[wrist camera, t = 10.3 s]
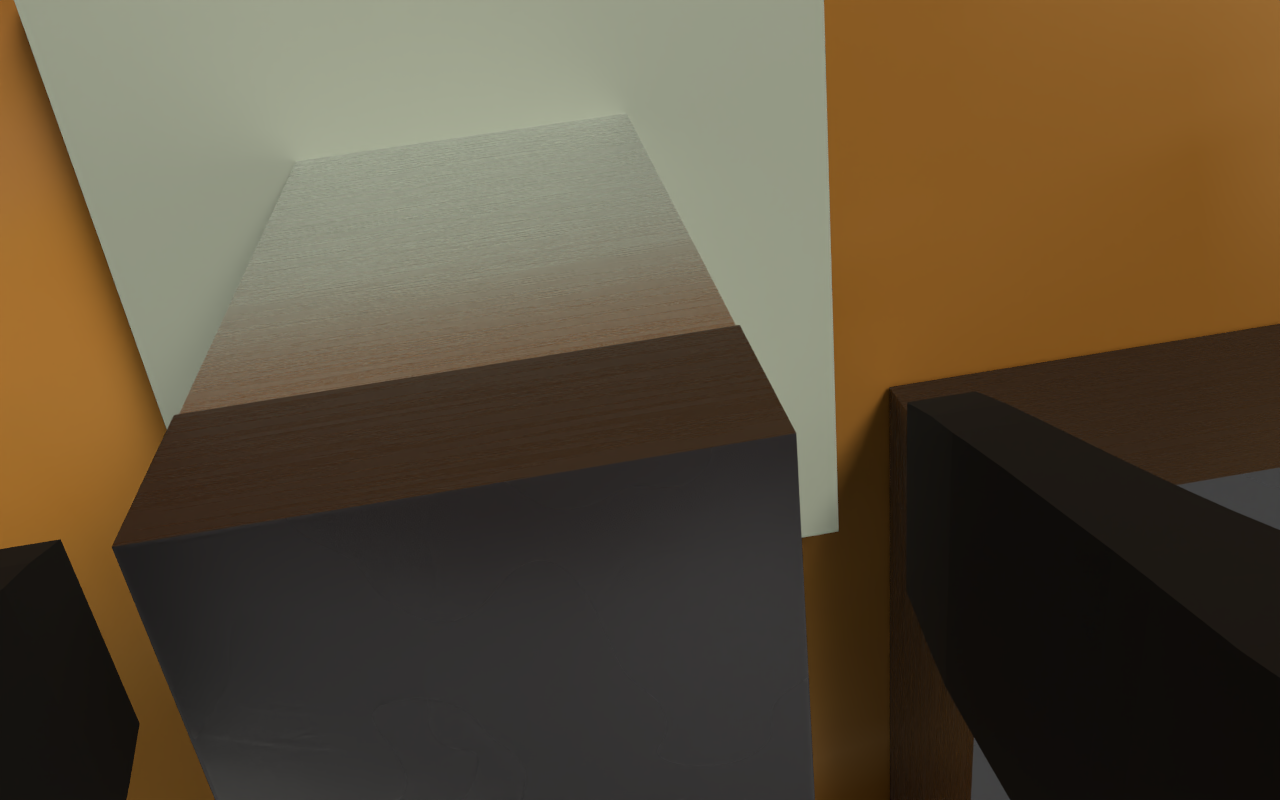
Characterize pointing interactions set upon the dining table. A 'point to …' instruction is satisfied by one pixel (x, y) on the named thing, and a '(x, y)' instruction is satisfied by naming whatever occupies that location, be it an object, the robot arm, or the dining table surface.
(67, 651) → the robot arm
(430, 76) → the mat
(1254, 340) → the socket block
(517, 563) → the key peg
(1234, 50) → the dining table surface
